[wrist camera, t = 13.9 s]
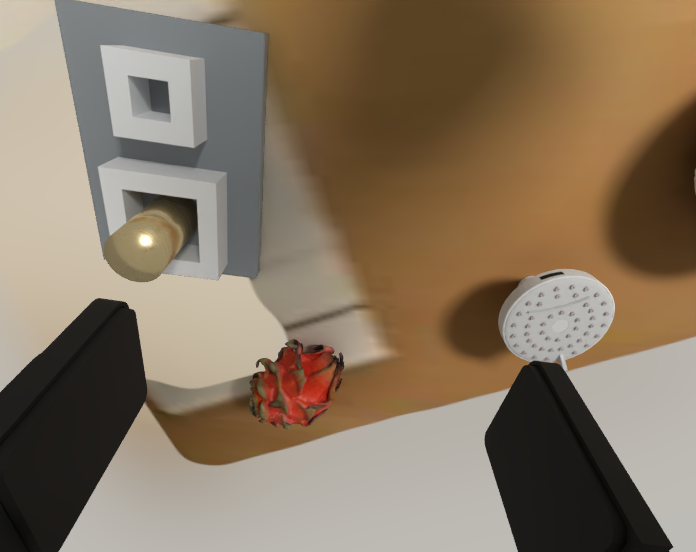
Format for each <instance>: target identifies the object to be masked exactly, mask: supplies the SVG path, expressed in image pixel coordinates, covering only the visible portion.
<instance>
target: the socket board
mask: <svg viewBox="0 0 696 552" xmlns="http://www.w3.org/2000/svg"><path fill="white" fill-rule="evenodd" d="M55 5H56V11H57V16H58V21H59V26H60V31H61V36H62V42H63V47H64V52H65V58H66V63H67V68H68V73H69V79H70V84H71V89H72V94H73V99H74V105H75V110H76V115H77V121H78V126H79V131H80V136H81V141H82V147H83V152H84V157H85V163H86V167H87V173H88V178H89V183H90V189H91V194H92V199H93V204H94V210H95V215H96V220H97V225H98V231H99V235H100V241H101V246H102V252H103V257H104V259H106V258H105V255H104V244H105V242H106V240H107V239H108V238H109V237H110V236H111V235H112V234H113V233H114V232H116V231H117V230H118V229H119V228H120V227H122V226H123V225H124V224H125V223H126V222H128V221H129V220H130V219H131V218H133V217H134V216H135V215H136V214H137V213H139V212H140V211H141V210H142V209H143V208H145V207H146V206H147V205H148V204H150V203H151V202H152V201H153V200H154V199H156V198H157V197H158V196H159V195H167V196H175V197H182V198H189V199H192V200H193V201H194V202H195V203H196V205H197V214H198V228H197V229H196V230H195V232H194V233H193V234H192V235H191V237H190V238H189V239H188V240H187V242H186V243H185V244H184V246H183V247H182V248H181V249H180V251H179V252H178V253H177V254H176V256H175V257H174V258H173V259H172V261H171V262H170V263H169V264H168V266H167V267H166V268H165V269H164V271H163V272H162V273H163V274H172V275H180V276H188V277H196V278H204V279H212V280H219V278H220V276H221V275H222V274H226V275H234V276H243V277H250V278H257V276H258V273H259V271H260V246H261V220H262V194H263V168H264V141H265V115H266V89H267V63H268V36H269V34H267V33H262V32H256V31H250V30H244V29H238V28H232V27H227V26H221V25H215V24H209V23H203V22H198V21H192V20H186V19H180V18H174V17H168V16H163V15H157V14H151V13H145V12H139V11H133V10H128V9H122V8H116V7H110V6H104V5H99V4H93V3H87V2H81V1H75V0H55Z"/></svg>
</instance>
